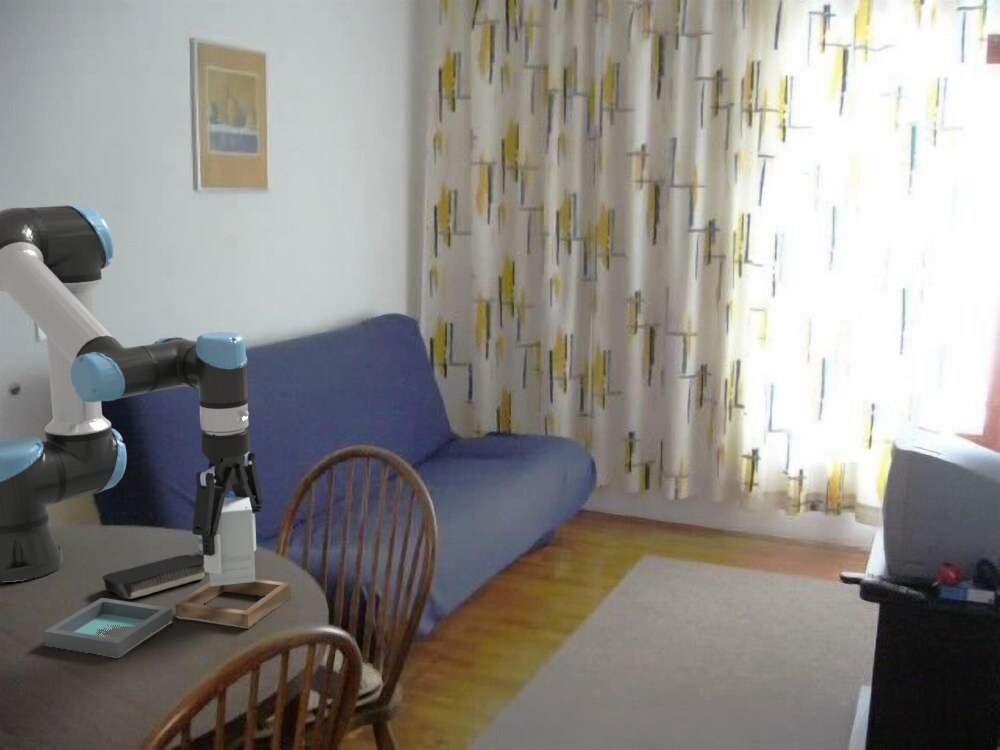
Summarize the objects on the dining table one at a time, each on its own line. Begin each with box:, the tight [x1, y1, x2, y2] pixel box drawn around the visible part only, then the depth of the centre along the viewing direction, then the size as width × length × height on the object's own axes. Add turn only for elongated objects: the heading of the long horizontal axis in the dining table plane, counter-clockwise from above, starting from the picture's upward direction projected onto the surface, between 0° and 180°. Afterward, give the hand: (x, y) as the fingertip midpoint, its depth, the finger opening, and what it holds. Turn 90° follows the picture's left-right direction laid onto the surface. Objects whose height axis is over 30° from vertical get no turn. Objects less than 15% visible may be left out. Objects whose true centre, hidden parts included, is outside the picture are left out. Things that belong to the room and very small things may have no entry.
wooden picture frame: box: [174, 578, 292, 627], centre depth 179 cm, size 13×13×2 cm
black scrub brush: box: [101, 554, 207, 600], centre depth 188 cm, size 16×8×4 cm, turn 133°
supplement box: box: [208, 497, 256, 586], centre depth 177 cm, size 7×7×13 cm
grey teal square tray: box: [43, 597, 173, 657], centre depth 169 cm, size 13×13×2 cm
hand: (231, 560), depth 177 cm, fingers closed on supplement box, 10 cm apart
